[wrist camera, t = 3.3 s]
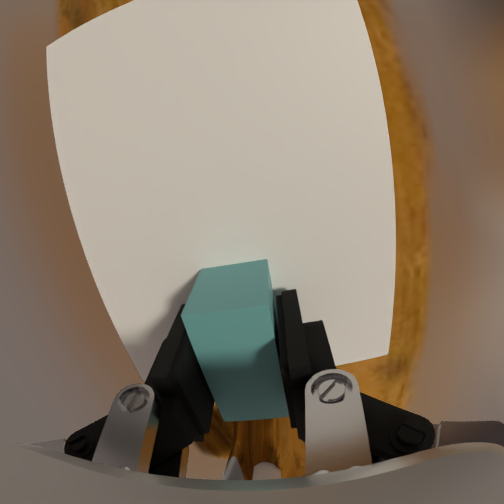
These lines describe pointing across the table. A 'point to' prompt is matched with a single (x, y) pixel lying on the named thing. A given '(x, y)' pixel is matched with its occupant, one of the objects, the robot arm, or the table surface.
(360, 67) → the box lid
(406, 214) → the table surface
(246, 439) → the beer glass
